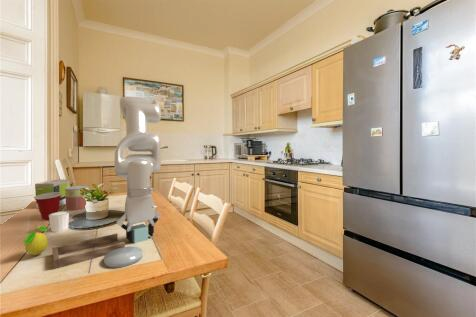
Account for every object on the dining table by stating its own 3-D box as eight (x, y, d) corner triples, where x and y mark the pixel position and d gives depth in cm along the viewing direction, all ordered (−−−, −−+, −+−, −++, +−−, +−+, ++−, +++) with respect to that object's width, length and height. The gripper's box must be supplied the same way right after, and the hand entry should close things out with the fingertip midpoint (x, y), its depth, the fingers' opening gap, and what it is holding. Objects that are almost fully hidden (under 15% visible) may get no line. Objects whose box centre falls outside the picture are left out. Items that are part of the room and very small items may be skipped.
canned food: (82, 204, 139) (81, 185, 138) (93, 207, 134) (93, 186, 133) (61, 209, 129) (60, 188, 128) (73, 212, 124) (72, 190, 123)
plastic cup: (29, 220, 110) (28, 195, 109) (54, 214, 120) (53, 191, 119) (43, 223, 106) (42, 197, 105) (68, 216, 116) (67, 193, 115)
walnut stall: (116, 239, 88) (116, 233, 88) (124, 249, 79) (124, 242, 79) (52, 255, 75) (52, 247, 75) (54, 269, 67) (53, 260, 67)
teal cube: (143, 235, 92) (143, 223, 92) (148, 239, 88) (147, 227, 88) (130, 239, 89) (130, 226, 88) (134, 243, 85) (134, 230, 85)
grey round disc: (136, 247, 81) (136, 243, 81) (147, 259, 73) (147, 255, 73) (100, 257, 74) (100, 253, 74) (108, 272, 66) (108, 267, 65)
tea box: (54, 202, 144) (53, 179, 143) (71, 202, 145) (70, 179, 144) (35, 209, 129) (34, 183, 128) (54, 208, 130) (53, 182, 129)
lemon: (48, 248, 80) (47, 220, 79) (52, 254, 76) (51, 224, 76) (22, 255, 75) (20, 226, 74) (25, 261, 71) (23, 230, 70)
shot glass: (58, 233, 94) (57, 216, 94) (45, 231, 95) (44, 215, 95) (73, 227, 101) (73, 211, 100) (60, 226, 102) (60, 210, 102)
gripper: (158, 188, 96) (158, 229, 97) (111, 193, 84) (113, 240, 85) (165, 190, 90) (166, 235, 91) (116, 197, 79) (118, 247, 80)
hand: (140, 237), depth 88 cm, fingers open, 7 cm apart
